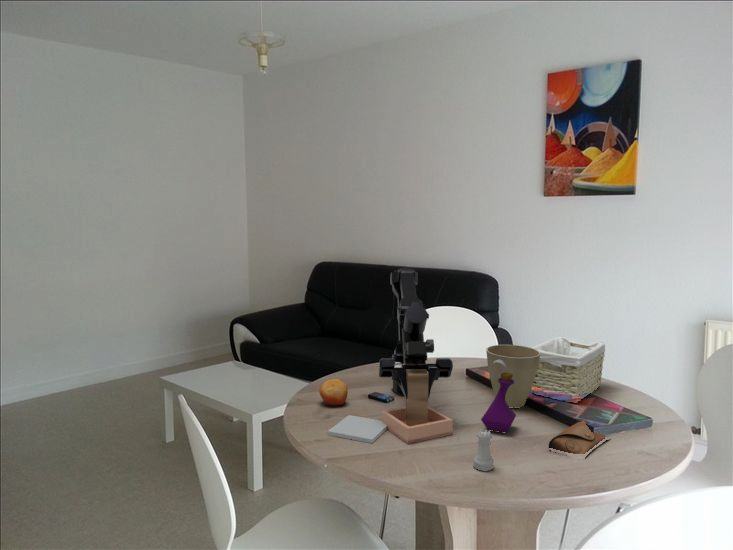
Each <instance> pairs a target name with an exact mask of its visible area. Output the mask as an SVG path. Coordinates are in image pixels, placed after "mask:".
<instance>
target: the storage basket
mask: <svg viewBox="0 0 733 550" xmlns="http://www.w3.org/2000/svg"><path fill="white" fill-rule="evenodd" d="M571 347H573V348H574V347H575V348H580V349H587V350H588V351H586V352H584V353H583V354H582V353H579V352H573V351H571ZM531 348H533V349H535V350H538V351H539V352H540V358H539V363H538V367H537V371H536V375H535V379H534V382H533V385H532V387H537V388H540V389H544V390H548V391H555V392H558V393H563V394H567V395H572V396H576V397H578V396H579V394H580V395H582V394H584V393H591V394H593V393H594V392H595V391H596V390H597V388H598V387H599V386H600V387H601V386H602V384H601V382H602V375H603V373H602V372H603V368H604V365H603V363H604V360H605V352H606V344H605V343H603V342H599V341H595V340H594V341H593V340H586V339H582V338H581V339H580V338H573V337H566V336H555V337H553V338H550V339H548V340H546V341H543V342H541V343H539V344H537V345H534V346H531ZM600 387H599V388H600ZM599 388H598V389H599ZM594 390H595V391H594Z"/></svg>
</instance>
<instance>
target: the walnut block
mask: <svg viewBox="0 0 733 550" xmlns="http://www.w3.org/2000/svg"><path fill="white" fill-rule="evenodd" d="M428 380H429V375H428V371H427V370H426V369H407V370H406V385H407V393H408V398H407V399H406V398H405V407H406V422H407V425H408V426H415V425H420V424H425V423H428V406H429V399H428Z"/></svg>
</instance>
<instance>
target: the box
mask: <svg viewBox="0 0 733 550" xmlns="http://www.w3.org/2000/svg"><path fill="white" fill-rule="evenodd" d="M381 421H382V422H383V423H384V424H386V425H387V430H386V431H389V432H390V433H391V434H393V435H394V436H395V437H396V438H398V439H400V440H401V441H403V442H404V443H405V444H407V445H410V444H414V443H415V444H416V443H420V442H424V441H429V440H433V439H439V438H443V437H447V436H451V435H453V431H454V430H453V426H454V422H453V421H454V420H453V418H451V417H448V416H447V415H445V414H443V413H441V412H439V411H438V410H436V409H434V408H433V407H431V406H429V405H428V423H425V424H420V425H415V426H408V425H407V422H406V406H403V407H398V408H392V409H386V410H382V411H381Z"/></svg>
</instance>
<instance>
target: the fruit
mask: <svg viewBox="0 0 733 550" xmlns="http://www.w3.org/2000/svg"><path fill="white" fill-rule="evenodd" d="M318 391H319V394H320V397H321V399H322V400H323V402H324V404H325V405H326V406H342V405H344V404H345V403H346V401H347V398H348V386H347V383H346V382H344V381H343V380H341V379H340V378H331V379H328V380H326V381H325V382H323V383H322V384H321V386H320V387H319V390H318Z"/></svg>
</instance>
